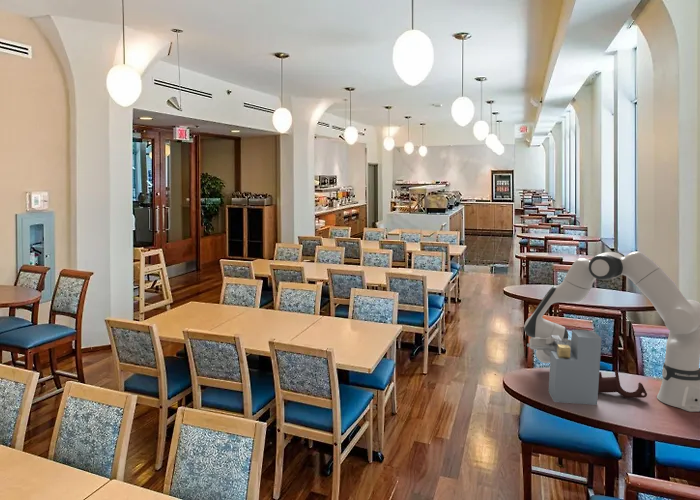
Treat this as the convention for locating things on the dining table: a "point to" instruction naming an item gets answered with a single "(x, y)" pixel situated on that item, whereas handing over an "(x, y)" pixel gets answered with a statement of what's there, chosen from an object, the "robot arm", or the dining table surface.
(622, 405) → the dining table surface
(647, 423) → the dining table surface
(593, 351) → the stepped stand
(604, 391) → the bracket
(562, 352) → the bar
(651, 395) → the dining table surface
